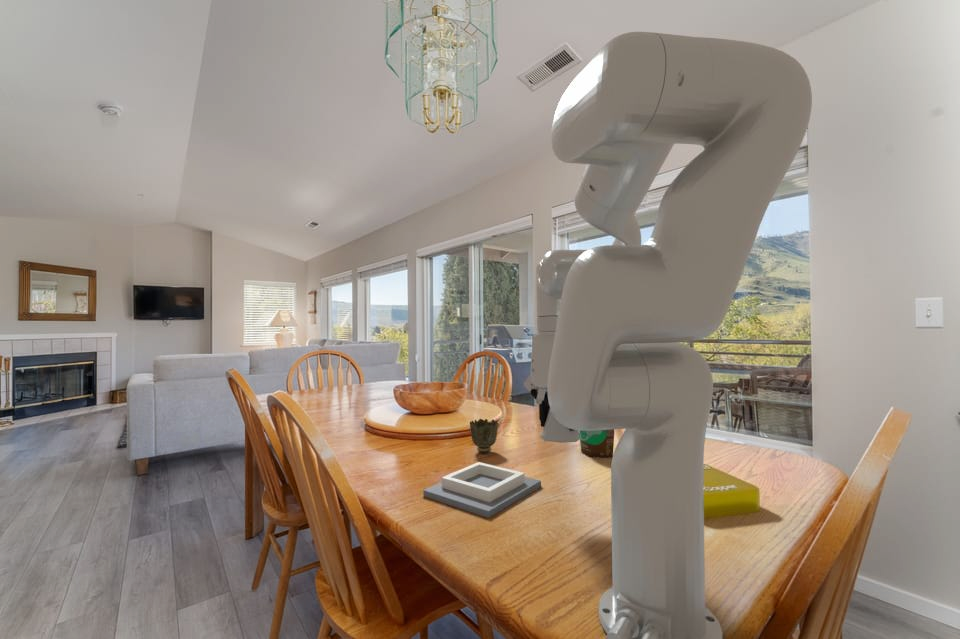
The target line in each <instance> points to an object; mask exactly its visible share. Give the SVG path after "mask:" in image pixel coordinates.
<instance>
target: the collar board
mask: <svg viewBox="0 0 960 639" xmlns="http://www.w3.org/2000/svg"><path fill="white" fill-rule="evenodd" d="M537 488H538V489H539V488H542V480H539V479H536V478H532V477H528V476H526V475H525V472H522V471H517V470H513V469H509V468H505V467H501V466H498V465H497V466H496V465H493V464H489V463H485V462H480V461H478V462H475V463H472V464H471V465H468V466H466V467H463V468H462V469H459V470H456V471H454V472H451V473H449V474H446V475H445V476H443V477H441V482H439V483H437V484H434V485H431V486H430V487H427V488H425V489H423V492H422V494H423V497H425V498H428V499H431V500H434V501H437V502H440V503H442V504H445V505H449V506H452V507H454V508H457V509H461V510H463V511H466V512H470V513H472V514H475V515H477V516H481V517H483V518H486V519H487V518H488V519H489V518H491V517H494V516H495V515H496V514H498V513H499V512H501V511H502V510H505V509H506V508H507V507H510V506H511V505H513V504H514V503H516V502H518V501H519V500H521V499H522V498H525V497H526V496H527V495H529V494H532V493H533V492H534V491H536V490H538V489H537ZM532 491H533V492H532ZM504 508H505V509H504Z"/></svg>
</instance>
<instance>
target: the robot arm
mask: <svg viewBox="0 0 960 639" xmlns="http://www.w3.org/2000/svg"><path fill="white" fill-rule="evenodd" d="M812 94H813V93H812V87H811V81H810V79H809V76H808V74H807V72H806V70H805V68H804V66H802V64H801V63H800V62H799V61H798V60H797V59H796V58H794V56H791V55H790V54H788V53H786V52H784V51H783V50H779V49H777V48H775V47H772V46H767V45H764V44H760V43H755V42H750V41H744V40H735V39H729V38H728V39H726V38H718V37H717V38H716V37H702V36H700V37H699V36H688V35H681V34H680V35H679V34H671V33H661V32H650V31H631V32H625V33H622V34H620V35H617V36H616V37H613V38H612V39H610V40H609V41H608V42H607V43H606V44H604V46H602V48H601V49H600V50H599V51H598V52H597V53H596V54H595V55H594V56H593V58H591V59H590V60H589V62H588V63H587V64H586V65H585V66H584V67H583V68H582V70H580V71H579V73H578V74H577V75H576V76H575V77H574V79H573V80H572V81H571V83H570V84H569V86H567V88H566V89H565V92H564V93H563V95H562V96H561V98H560V101H559V102H558V105H557V108H556V110H555V113H554V116H553V119H552V124H551V134H550V135H551V136H550V138H551V147H552V150H553V154H554V156H556V158H557V159H558V160H560V161H561V162H562V163H566V164H567V163H568V164H579V165H580V164H581V165H586V167H585V170H584V172H583V176H582V178H581V179H580V182H579V184H578V187H577V188H576V189H577V190H576V192H575V195H574V207H575V209H576V211H577V213H578V215H579V216H580V217H581V218H582V219H583V220H584V221H585V222H586V223H588V224H589V225H590V226H592V227H594V228H595V229H597V230H600V231H601V232H603V233H605V234H608V235H609V236H611V237H613V238H615V239H614V241H613V242H612V244H610V245H609V244H608V245H601V246H600V245H599V246H595V247H592V248H589V249H555V250H554V249H553V250H549V251H548V252H546V254H544V255H543V257H542V259H541V260H540V261H539V262H538V263H537V264H536V268H535V278H536V279H535V282H536V285H535V287H536V288H535V290H536V328H537V331H536V333H537V334H534V336H533V341H532V347H531V357H530V373H529V375H528V376H527V378H526V379H525V380H524V382H523V387H524V388H525V389H526V390H527V391H528V392H530V394H531V396H532V397H533V398H534V399H535V401H536V402H535V403H536V404H537V405H538V408H539V409H538V410H539V411H538V412H539V413H538V414H539V416H538V418H539V421H540V427H541V428H544V426H545V422H546V419H547V416H548V412H549V409H551V411H552V413H553V415H554V417H555V418H556V420H557V421H558V422H559V423H560V424H562V425H563V426H565V427H567V428H569V429H570V431H574V430H578V431H579V430H580V431H594V430H611V429H615V430H624V429H625V430H624V431H623V433H622V435H621V437H620V439H619V441H618V442H617V444H616V446H615V448H614V450H613V457H611V458H612V459H611V466H610V488H611V489H610V491H611V493H610V501H611V506H610V507H611V509H610V510H611V560H612V561H611V566H612V567H611V569H612V570H611V571H612V573H611V574H612V578H611V579H612V586H611V587H610V588H607V590H606V591H605V592H604V593H603V594H602V595H601V597H600V599H599V602H598V616H599V617H598V618H599V622H600V625H601V627H602V629H603V631H604V632H605V633H606V636H605V639H723V630H722V626H721V624H720V622H719V620H718V618H717V617H716V616H715V615H714V614H713V612H712V611H711V610H710V609H709V608H708V607H707V606H706V576H705V575H706V571H705V570H706V567H705V566H706V564H705V563H706V562H705V559H706V558H705V519H704V493H703V492H704V477H703V473H704V471H703V470H704V464H705V463H704V459H705V458H704V457H705V456H704V455H705V442H706V435H707V434H706V433H707V427H708V423H709V422H708V421H709V417H710V413H711V408H712V403H713V402H712V401H713V394H714V379H713V373H712V371H711V368H710V366H709V364H708V361H707V360H706V359H705V357H704V356H703V355H702V354H701V353H700V352H699V351H698V350H696V349H695V348H693V347H692V346H689V345H687V344H685V342H686V343H687V342H688V343H689V342H695V341H700V340H703V339H705V338H708V337H710V336H711V335H713V334H714V333H715V332H717V330H718V329H719V328H720V327H721V325H722V323H723V321H724V319H725V317H726V315H727V313H728V311H729V309H730V306H731V304H732V301H733V298H734V296H735V292H736V290H737V288H738V285H739V284H740V283H739V282H740V280H741V277H742V275H743V272H744V270H745V267H746V264H747V262H748V259H749V256H750V254H751V251H752V248H753V247H754V244H755V241H756V238H757V235H758V232H759V229H760V226H761V224H762V221H763V218H764V217H765V214H766V211H767V210H768V207H769V205H770V203H771V202H772V200H773V198H774V196H775V194H776V192H777V190H778V188H779V186H780V184H781V183H782V181H783V180H784V178H785V176H786V174H787V173H788V170H789V169H790V168H791V165H792V164H793V162H794V160H795V158H796V156H797V154H798V152H799V150H800V147H801V145H802V143H803V141H804V138H805V136H806V133H807V130H808V128H809V127H808V126H809V123H810V119H811V113H812V107H813V105H812V104H813V96H812ZM675 144H677V145H678V144H679V145H680V144H683V145H695V146H696V145H697V146H701V147H702V148H704V150H702V151H701V152H700V153H699V154H698V155H697V156H695V157H694V158H693V159H692V160H690V162H689V163H687V164H686V165H685V166H684V168H683V169H682V170H680V172H679V173H678V174H677V176H676V177H675V179H673V181H672V182H671V183H670V184H669V186H668V187H667V188H666V191H665V192H664V194H663V196H662V198H661V200H660V203H659V205H658V209H657V210H658V211H657V215H656V219H655V224H654V226H653V230H652V232H651V235H650V237H649V239H648V240H647V241H646V242H645V243H644V244H642V233H641V228H640V224H639V222H638V220H637V218H636V216H635V214H636V212H637V211H638V209H639V207H640V206H641V204H642V202H643V200H644V199H645V196H646V194H647V193H648V192H649V190H650V187H651V186H652V184H653V183H654V181H655V179H656V178H657V176H658V174H659V172H660V170H661V169H662V167H663V165H664V163H665V162H666V159H667V158H668V156H669V154H670V152H671V151H672V148H673V147H674V145H675Z"/></svg>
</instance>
